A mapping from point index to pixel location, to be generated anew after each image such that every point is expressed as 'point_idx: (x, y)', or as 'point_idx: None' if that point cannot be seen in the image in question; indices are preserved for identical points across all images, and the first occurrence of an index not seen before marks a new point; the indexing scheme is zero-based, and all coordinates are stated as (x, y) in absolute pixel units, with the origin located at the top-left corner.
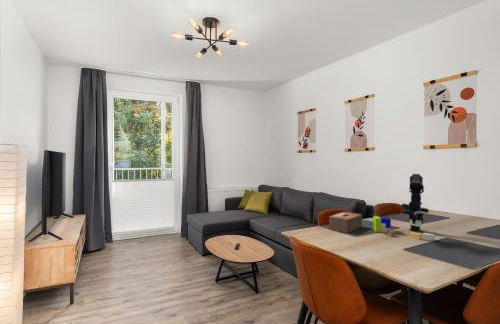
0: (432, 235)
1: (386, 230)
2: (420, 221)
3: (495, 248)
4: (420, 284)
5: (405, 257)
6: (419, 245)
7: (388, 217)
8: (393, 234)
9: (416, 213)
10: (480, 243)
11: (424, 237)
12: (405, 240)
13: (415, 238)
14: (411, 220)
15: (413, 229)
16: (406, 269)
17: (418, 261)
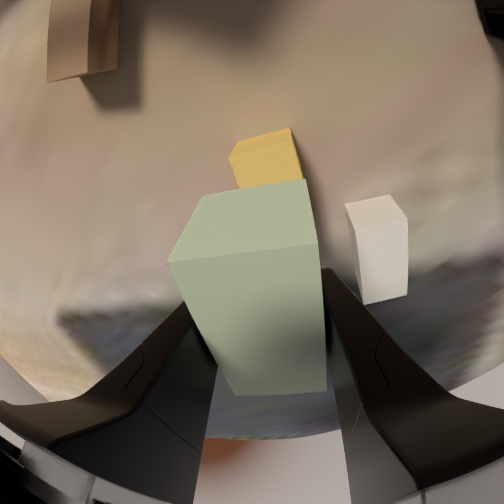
0: (368, 302)
1: (52, 17)
2: (296, 386)
3: (452, 389)
4: None
5: (49, 355)
6: (159, 314)
7: None
8: (93, 72)
9: (377, 488)
10: (491, 350)
11: (349, 225)
12: (129, 209)
13: None
14: (187, 290)
15: (483, 2)
16: (42, 380)
17: (74, 380)
